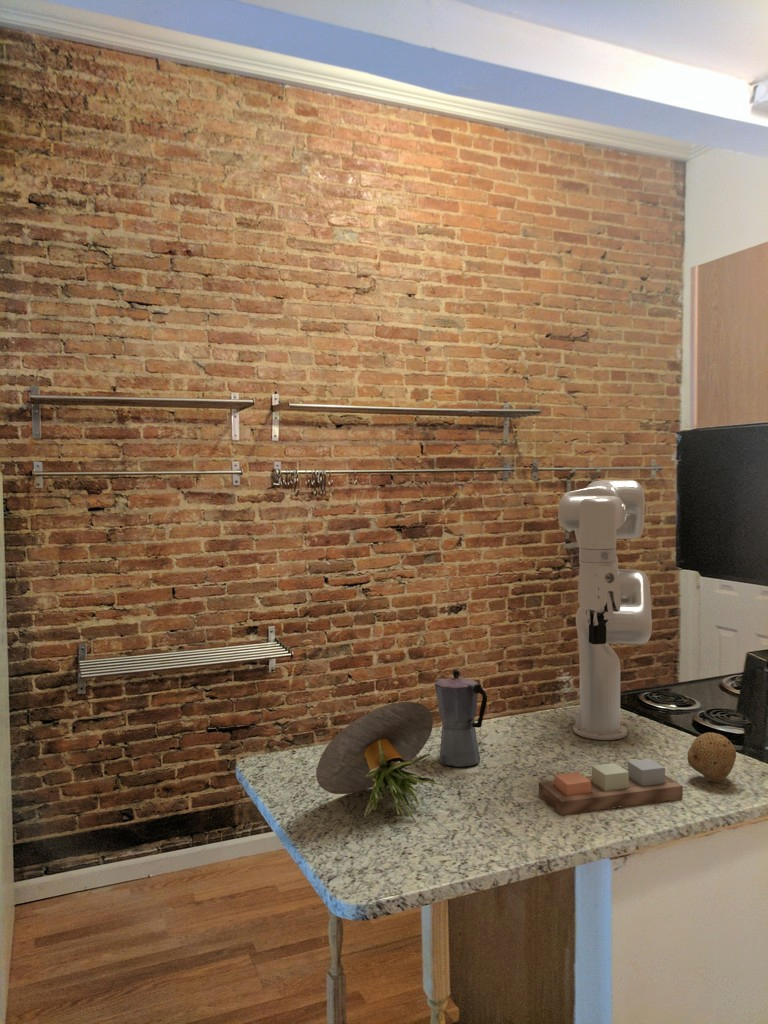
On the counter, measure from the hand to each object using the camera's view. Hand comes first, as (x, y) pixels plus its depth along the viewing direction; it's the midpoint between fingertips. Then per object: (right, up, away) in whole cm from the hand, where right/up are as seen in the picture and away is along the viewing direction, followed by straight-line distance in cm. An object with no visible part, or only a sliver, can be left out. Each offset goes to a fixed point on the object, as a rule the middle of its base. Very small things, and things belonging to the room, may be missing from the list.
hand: (597, 643), depth 166 cm
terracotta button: (-9, -27, -15) cm, 32 cm away
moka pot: (-28, -27, +7) cm, 40 cm away
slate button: (+7, -26, -11) cm, 29 cm away
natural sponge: (+22, -27, -6) cm, 35 cm away
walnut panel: (-1, -28, -13) cm, 31 cm away
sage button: (-1, -26, -13) cm, 29 cm away
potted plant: (-45, -29, -17) cm, 56 cm away
